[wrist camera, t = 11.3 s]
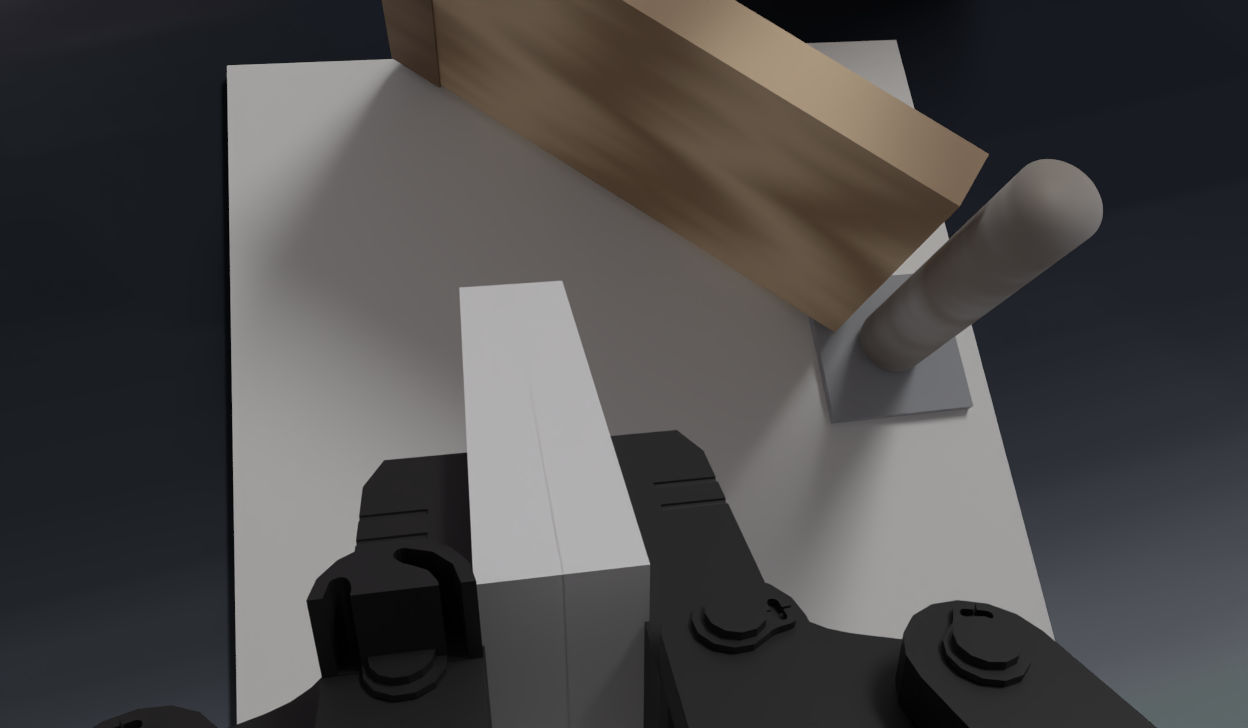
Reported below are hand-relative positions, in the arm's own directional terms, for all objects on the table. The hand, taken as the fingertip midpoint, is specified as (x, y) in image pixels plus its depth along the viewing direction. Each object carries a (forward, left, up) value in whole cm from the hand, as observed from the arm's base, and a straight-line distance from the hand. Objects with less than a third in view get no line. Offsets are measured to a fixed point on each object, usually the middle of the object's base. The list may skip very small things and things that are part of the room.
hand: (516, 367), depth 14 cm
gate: (-5, -9, -12) cm, 16 cm away
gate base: (-4, -3, -13) cm, 14 cm away
